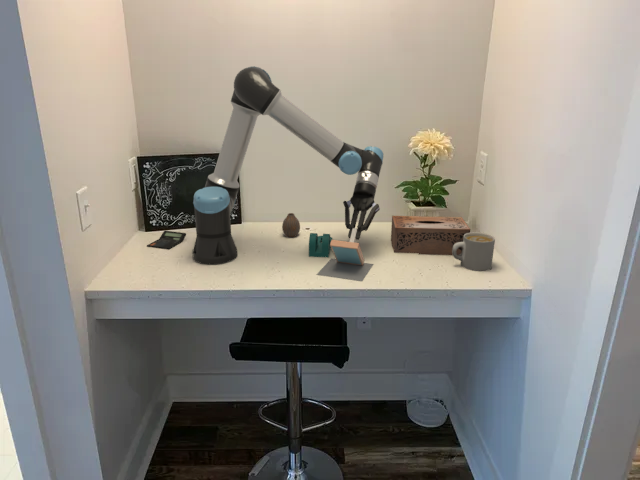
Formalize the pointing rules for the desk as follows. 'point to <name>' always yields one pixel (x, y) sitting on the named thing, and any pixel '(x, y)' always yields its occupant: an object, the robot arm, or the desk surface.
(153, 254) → the desk surface
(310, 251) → the bracket
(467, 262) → the coffee mug
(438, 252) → the tissue box cover
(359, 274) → the mat
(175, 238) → the calculator
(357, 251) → the tile
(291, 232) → the vase
